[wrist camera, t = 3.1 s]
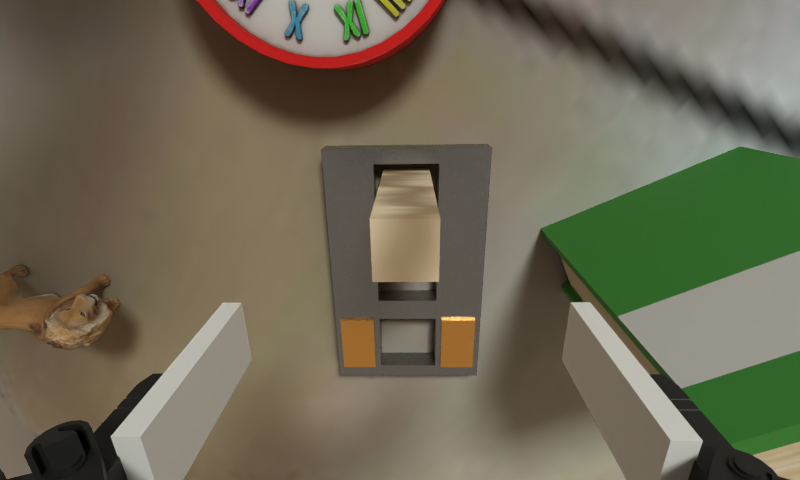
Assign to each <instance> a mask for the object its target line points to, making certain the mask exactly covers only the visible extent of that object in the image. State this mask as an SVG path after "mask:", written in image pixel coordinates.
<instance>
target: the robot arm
mask: <svg viewBox="0 0 800 480" xmlns="http://www.w3.org/2000/svg"><path fill="white" fill-rule="evenodd" d="M251 360H252V358H251V352H250V347H249V341H248V335H247V330H246V324H245V319H244V313H243V307H242V303H222V305H221V306H220V307H219V308H218V309H217V310H216V312H215V313H214V314H213V315H212V316H211V318H210V319H209V320H208V321H207V322H206V324H205V325H204V326H203V327H202V328H201V330H200V331H199V332H198V333H197V334H196V335H195V337H194V338H193V339H192V340H191V341H190V343H189V344H188V345H187V346H186V347H185V349H184V350H183V351H182V352H181V353H180V355H179V356H178V357H177V358H176V359H175V360H174V362H173V363H172V364H171V365H170V366H169V368H168V369H167V370H166V371H165V372H164V374H152V375H150V376H149V377H147V378H146V379H145V380H143V381H142V382H140V383H139V384H137V385H136V387H135V388H134V389H133V390H132V391H131V392H130V393H129V394H128V395H127V397H126V399H124V400H123V401H122V402H121V403H120V404H119V405H118V408H117V409H115V410H114V411H113V412H112V413H111V414H110V416H109V417H108V418H107V419H106V420H105V421H104V422H103V423H102V424H101V426H100V427H99V428H98V429H97V430H96V431H95V432H94V433H93V431H92V428H91V426H90V425H89V423H88V422H85V421H81V420H79V421H69V422H66V423H63V424H59V425H57V426H55V427H53V428H51V429H49V430H47V431H45V432H44V433H42V434H41V435H40V436H38V437H37V438H35V439H34V440H33V442H32V443H31V444H30V445H29V446H28V447H27V449H26V452H25V454H24V456H25V458H26V460H27V463H28V465H29V467H30V469H31V471H32V473H31V474H27V475H23V476H19V477H14V478H10V479H6V477H5V475H4V473H3V472H2V471H1V469H0V480H184V478H185V476H186V474H187V473H188V471H189V469H190V467H191V465H192V464H193V462H194V460H195V458H196V457H197V455H198V453H199V451H200V450H201V448H202V446H203V444H204V443H205V441H206V439H207V437H208V435H209V434H210V432H211V430H212V428H213V427H214V425H215V423H216V421H217V420H218V418H219V416H220V414H221V413H222V411H223V409H224V407H225V406H226V404H227V402H228V400H229V398H230V397H231V395H232V393H233V391H234V390H235V388H236V386H237V384H238V383H239V381H240V379H241V377H242V376H243V374H244V372H245V370H246V368H247V367H248V365H249V363H250V361H251ZM562 362H563V363H564V365H565V367H566V369H567V371H568V373H569V374H570V376H571V378H572V380H573V382H574V384H575V386H576V387H577V389H578V391H579V393H580V395H581V397H582V398H583V400H584V402H585V404H586V406H587V408H588V409H589V411H590V413H591V415H592V417H593V419H594V421H595V422H596V424H597V426H598V428H599V430H600V432H601V433H602V435H603V437H604V439H605V441H606V443H607V444H608V446H609V448H610V450H611V452H612V454H613V456H614V457H615V459H616V461H617V463H618V465H619V467H620V468H621V470H622V472H623V474H624V476H625V478H626V479H627V480H790V479H786V478H782V477H779V476H778V475H777V474H776V473H775V472H774V470H773V469H772V468H771V467H769V466H768V465H767V464H765V463H764V462H763V461H762V460H760V459H758V458H756V457H754V456H753V455H751V454H749V453H746V452H743V451H740V450H737V449H734V448H733V447H732V446H731V444H730V443H729V442H728V441H727V440H726V439H725V438H724V436H723V435H722V434H721V433H720V432H719V431H718V430H717V428H716V427H715V426H714V425H713V424H712V423H711V422H710V421H709V419H708V418H707V417H706V416H705V415H704V414H703V413H702V411H699V408H698V407H697V406H696V405H695V404H694V402H693V401H690V398H689V397H688V396H687V394H686V393H685V392H684V391H683V390H682V389H681V388H680V387H679V385H677V384H676V383H674V382H673V381H671V380H670V379H668V378H667V377H666V376H664V375H663V374H648V373H647V371H646V370H645V369H644V368H643V367H642V365H641V364H640V363H639V362H638V360H637V359H636V358H635V357H634V355H633V354H632V353H631V352H630V351H629V349H628V348H627V347H626V346H625V344H624V343H623V342H622V341H621V339H620V338H619V337H618V336H617V335H616V333H615V332H614V331H613V330H612V328H611V327H610V326H609V325H608V324H607V322H606V321H605V320H604V319H603V317H602V316H601V315H600V314H599V312H598V311H597V310H596V309H595V308H594V306H593V305H592V304H591V303H590V302H571V303H570V309H569V316H568V322H567V328H566V335H565V341H564V347H563V354H562Z"/></svg>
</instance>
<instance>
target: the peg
mask: <svg viewBox="0 0 800 480" xmlns="http://www.w3.org/2000/svg"><path fill="white" fill-rule="evenodd" d="M370 239H371V262H372V282H439V259H440V214H439V210H438V205H437V201H436V196H435V192H434V187H433V183H432V178H431V174H430V169H429V168H384V170H383V173H382V177H381V180H380V184H379V187H378V191H377V194H376V198H375V202H374V205H373V209H372V212H371V216H370Z"/></svg>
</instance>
